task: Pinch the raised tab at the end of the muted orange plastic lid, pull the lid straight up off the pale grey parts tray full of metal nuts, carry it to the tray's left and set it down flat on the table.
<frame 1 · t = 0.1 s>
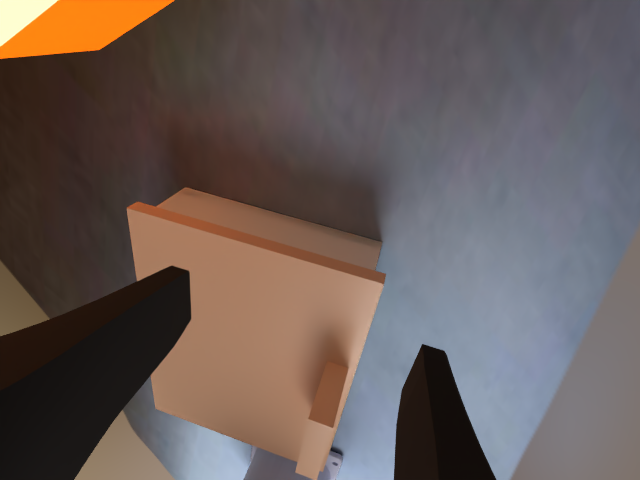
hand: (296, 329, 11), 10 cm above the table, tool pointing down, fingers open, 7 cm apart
lid: (246, 352, 23), point 3 cm above the table, touching parts tray
parts tray: (268, 314, 26), on the table
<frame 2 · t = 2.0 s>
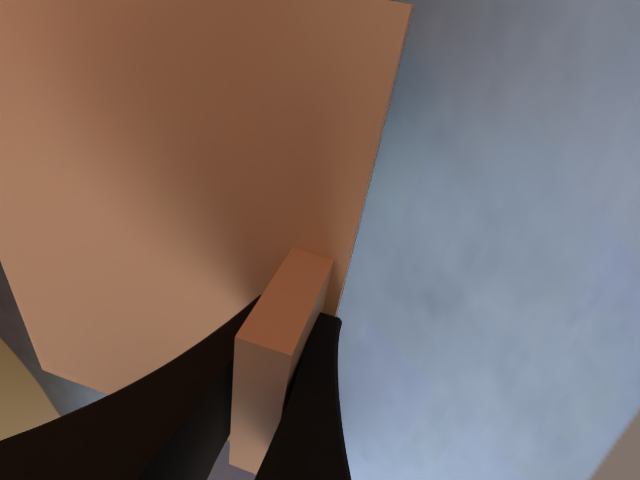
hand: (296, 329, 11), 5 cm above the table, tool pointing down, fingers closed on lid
lid: (159, 256, 13), point 3 cm above the table, touching gripper, parts tray
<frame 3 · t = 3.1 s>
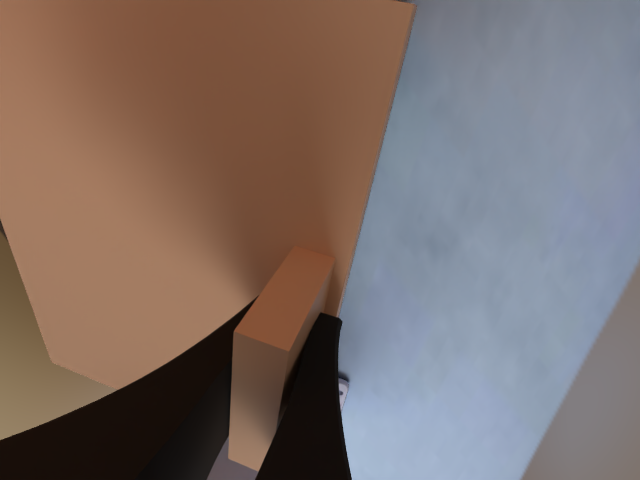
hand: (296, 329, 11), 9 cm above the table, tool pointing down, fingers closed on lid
lid: (165, 252, 13), point 8 cm above the table, touching gripper
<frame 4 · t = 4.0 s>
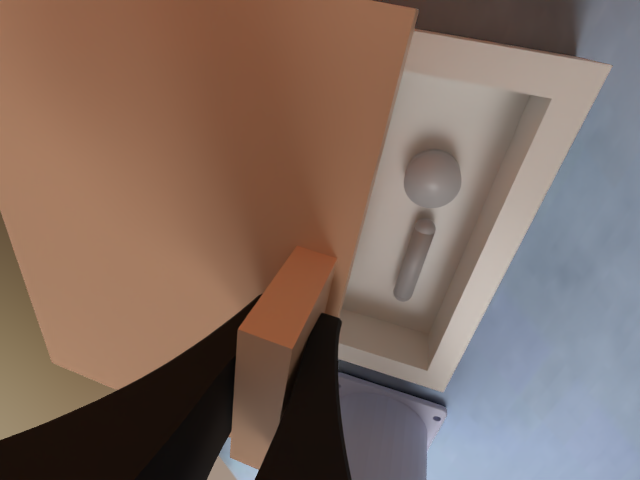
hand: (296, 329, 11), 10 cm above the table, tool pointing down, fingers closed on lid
lid: (168, 252, 13), point 8 cm above the table, touching gripper
parts tray: (375, 204, 19), on the table
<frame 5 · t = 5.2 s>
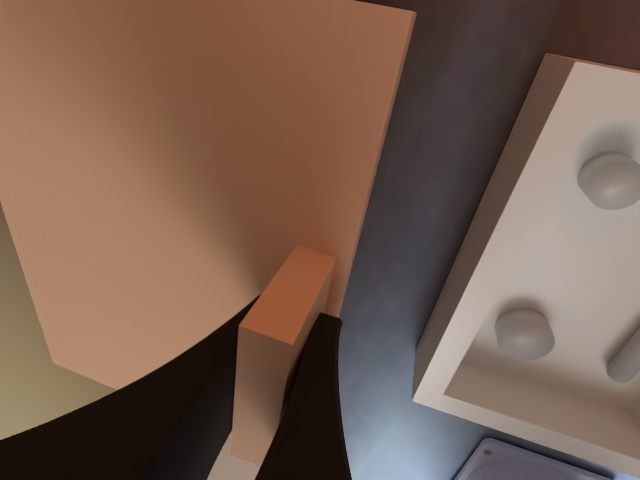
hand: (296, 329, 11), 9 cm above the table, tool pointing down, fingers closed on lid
lid: (169, 252, 13), point 7 cm above the table, touching gripper
parts tray: (598, 273, 17), on the table
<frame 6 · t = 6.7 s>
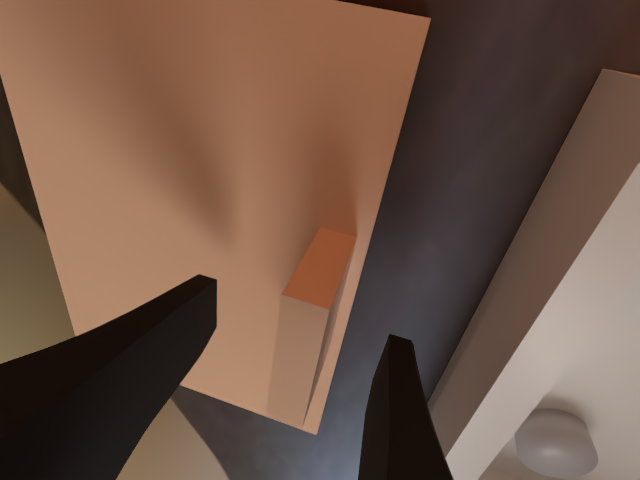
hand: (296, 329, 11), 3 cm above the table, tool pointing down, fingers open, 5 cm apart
lid: (196, 238, 14), on the table
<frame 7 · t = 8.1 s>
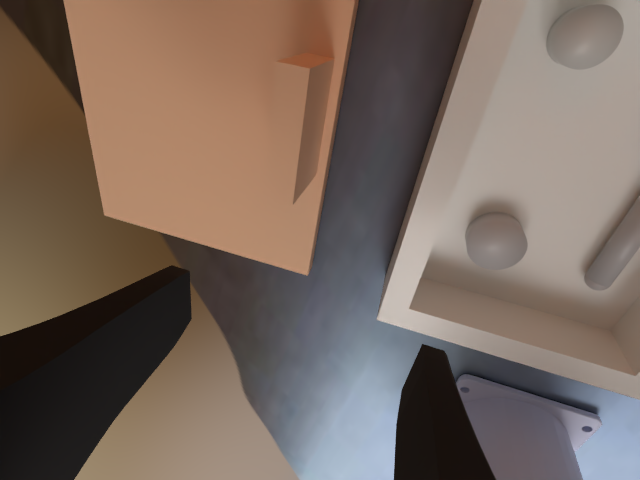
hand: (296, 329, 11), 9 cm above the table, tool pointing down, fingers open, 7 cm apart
lid: (206, 89, 18), on the table
parts tray: (574, 168, 15), on the table
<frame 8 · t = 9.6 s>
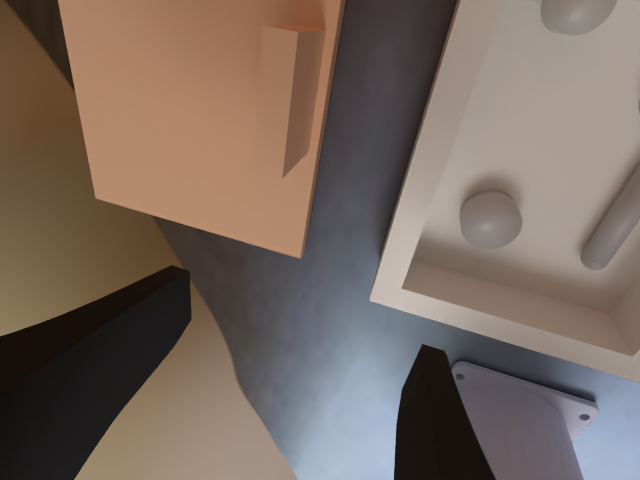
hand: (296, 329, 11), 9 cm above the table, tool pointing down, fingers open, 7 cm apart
lid: (197, 65, 17), on the table
parts tray: (570, 144, 15), on the table
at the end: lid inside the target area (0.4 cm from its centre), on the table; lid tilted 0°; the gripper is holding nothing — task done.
